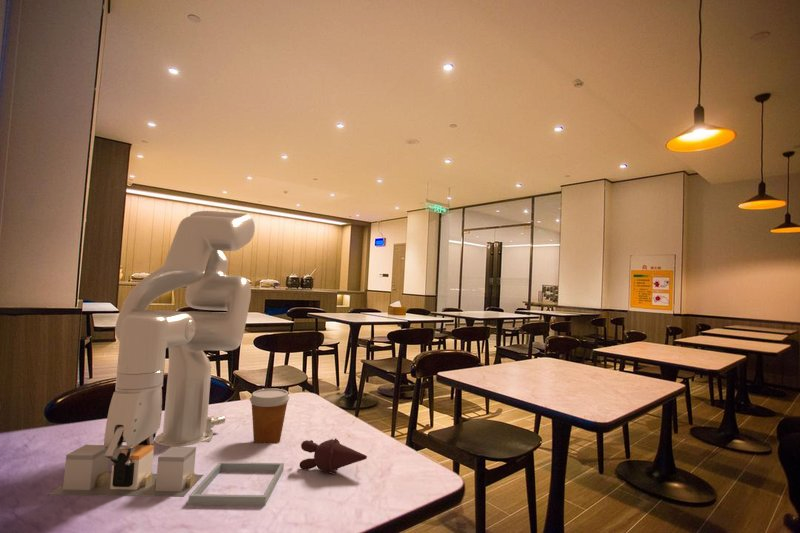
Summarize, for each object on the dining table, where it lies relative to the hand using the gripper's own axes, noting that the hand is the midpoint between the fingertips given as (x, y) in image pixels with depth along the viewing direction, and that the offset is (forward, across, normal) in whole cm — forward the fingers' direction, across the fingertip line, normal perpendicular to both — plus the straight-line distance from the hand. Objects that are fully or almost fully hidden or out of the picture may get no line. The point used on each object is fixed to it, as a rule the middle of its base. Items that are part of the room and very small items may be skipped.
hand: (131, 477), depth 71 cm
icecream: (+2, -8, +36) cm, 37 cm away
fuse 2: (+1, 0, +8) cm, 8 cm away
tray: (+2, 0, +20) cm, 20 cm away
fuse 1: (+1, 0, -8) cm, 8 cm away
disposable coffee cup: (+2, -24, +18) cm, 30 cm away
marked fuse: (+1, 0, 0) cm, 1 cm away
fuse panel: (+2, 0, 0) cm, 2 cm away
